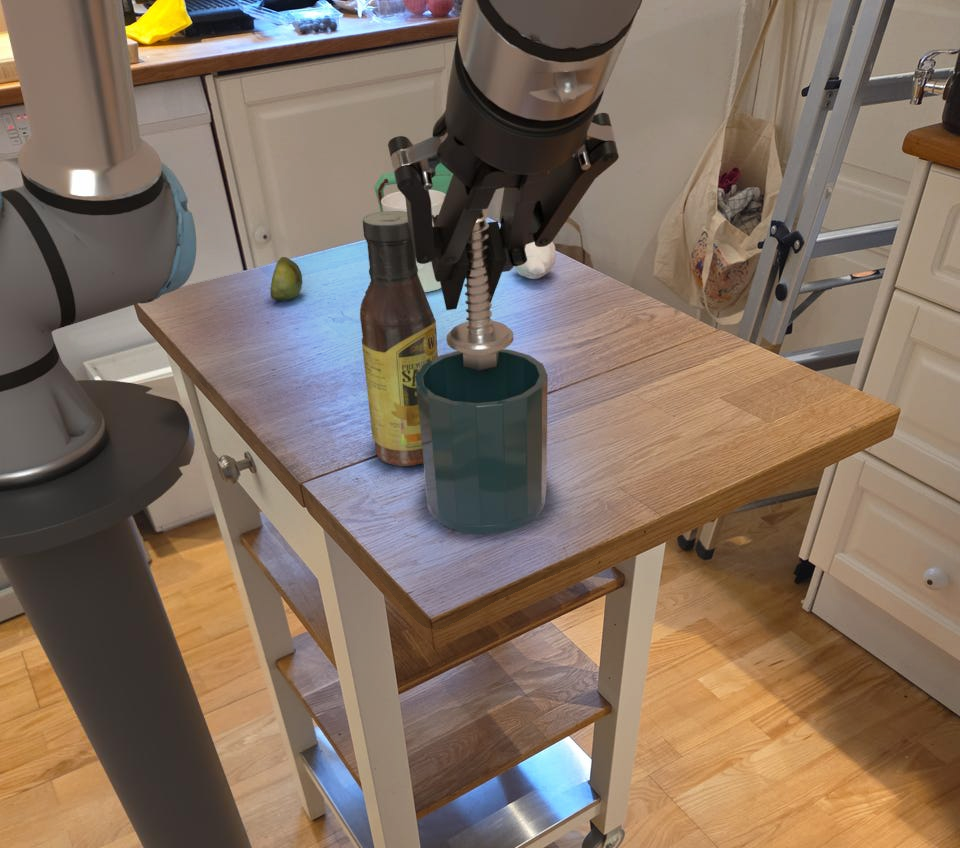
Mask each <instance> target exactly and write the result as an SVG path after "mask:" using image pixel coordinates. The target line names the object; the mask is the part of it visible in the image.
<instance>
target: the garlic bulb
mask: <svg viewBox="0 0 960 848" xmlns="http://www.w3.org/2000/svg"><path fill="white" fill-rule="evenodd" d="M525 252H526V257H527V261H526V263H524V264H522V265H520V266H514V269H515V270H516V271H517V273H518V275H520V276H521V277H526V278H528V279H531V280H537V279H540V278H543V277H544V276H546V275H547V274H548V273H550V271H551V270H552V269H553V267H554V266H555V264H556V257H557V253H556V246H555V244H554V242H553V241H552V242H551V243H550V244H549V245H547V246H545V247H537V246H536V245H535V242H532V243H529V244H527V245H526V246H525Z"/></svg>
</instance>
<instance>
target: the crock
mask: <svg viewBox="0 0 960 848" xmlns="http://www.w3.org/2000/svg"><path fill="white" fill-rule="evenodd" d="M548 378H549V377H548V372H547V370H546V368H545V365H544V364H543V363H542V362H540V361H539V360H538V359H536V358H534V357H533V356H532V355H529V354H526V353H523V352H520V351H516V350H512V349H508V348H504V349H502V350H500V351H499V352H498V362H497V366H496V367H494V368H490V369H485V370H481V371H477V370H474V369H470V368H467V367H464V363H463V353H462V352H459V351H456V350H455V351H453V352H448V353H445V354H441V355H438V357H437V358H435V359H433V360H431V361H430V362H428V363H426V364H424V365H423V366H422V367H421V369H420V370H419V372H418V373H417V374H416V376H415V382H416V393H417V403H418V414H419V424H420V435H421V445H422V455H423V463H422V464H423V474H424V476H423V477H424V485H425V486H424V487H425V494H426V504H427V510H428V511H429V514H430V515H431V516H432V518H433V519H434V520H435V521H436V522H438V523H439V524H440V525H442V526H444V527H446V528H448V529H451V530H453V531H457V532H461V533H465V534H472V535H473V534H474V535H494V534H495V535H496V534H501V533H506V532H510V531H514V530H516V529H519V528H523V527H524V526H526V525H528V524H530V523H531V522H532V521H534V520H535V519H536V518H537V517H539V515H540V514H541V513H542V511H543V509H544V508H545V504H546V495H547V484H548V483H547V478H548V475H547V473H548V471H547V469H548V468H547V467H548V466H547V465H548V386H549V384H548V383H549V382H548V381H549V380H548Z"/></svg>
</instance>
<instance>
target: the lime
mask: <svg viewBox="0 0 960 848" xmlns="http://www.w3.org/2000/svg"><path fill="white" fill-rule="evenodd" d="M302 288H303V274H302V270H301V268H300V267H299V265H298V264H297V263H296V262H295V261H293V260H292V259H290V258H289V257H287V256H281V257H280V258H279V259H278V261H277V262H276V265H275V267H274V270H273V274H272V277H271V282H270V287H269V289H270V297H271V299H273V300H275V301H279V302H288V301H291V300H293V299H294V298H297V297H298V295H299V294H300V292H301V290H302Z"/></svg>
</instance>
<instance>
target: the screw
mask: <svg viewBox="0 0 960 848" xmlns="http://www.w3.org/2000/svg"><path fill="white" fill-rule="evenodd" d="M488 217H489V214H487V213H486V211H485V209H482V210H481V212H480V214H479V217H478V219H477V221H476V224H475V226H474V228H473V230H472V233H471V235H470V237H469V240H468V242H467V244H466V246H465V248H466V253H467V257H468V261H469V267H468V271H467V274H466V278H465V280H466V283H464V285H463V287H466V292H464V295H465V296H466V299H467V300H465V301H464V303H465V304H466V305H467V308H466V309H465V312H466V313H467V314H468V315H467V317H466V318H465V320H466V321H465V322H461V323H458V324H457V325H455V326H454V327H453V328H452V329H451V330H450V331H449V332H448V333H447V334H446V344H447V346H448V347H449V348H450V349H452V350H454V351H455V352H456V351H459V352H462V353H463V363H464V367H467V368H470V369H474V370H477V371H481V370H485V369H490V368H494V367H496V366H497V362H498V352H499V351H500V350H502V349H507V348H508V347H509V346H511V344H512V343H513V342H514V338H515V337H514V331H513V330H512V329H511V328H509V326H507V325H506V324H505V323H502V322H499V321H496V320H493V319H492V318H491V317H492V315H493V312H492V310H491V308H492V306H493V304H492V302H491V303H490V302H489V300H490V299H491V297H492V296H491V295H490V294H489V292H490V290H491V286H490V285H488V283H490V281H491V278H490V277H489V276H488V274H489V273H490V272H491V270H490V269H489V268H488V265H489V264H490V260H489V259H488V258H487V257H488V256H489V255H490V252H489V251H488V250H487V247H489V245H490V243H489V242H488V241H487V238H488V237H489V233H488V232H487V231H486V229H487V228H488V227H489V224H488V222H487V218H488Z"/></svg>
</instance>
